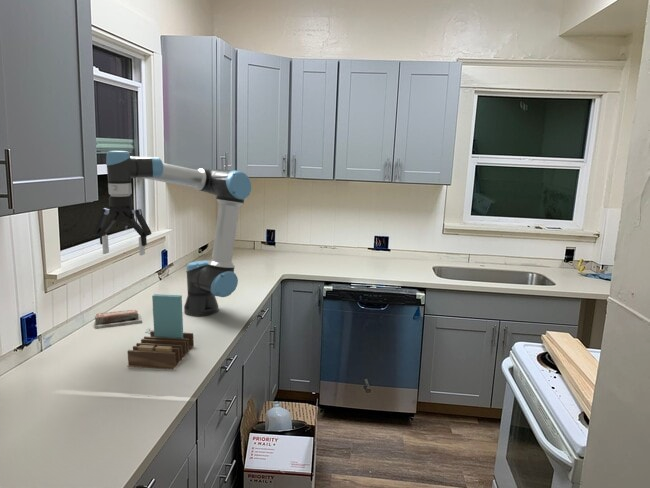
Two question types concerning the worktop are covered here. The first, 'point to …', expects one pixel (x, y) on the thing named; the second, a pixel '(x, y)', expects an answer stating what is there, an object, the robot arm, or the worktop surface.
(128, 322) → the packaged product
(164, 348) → the offcut
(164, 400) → the worktop surface
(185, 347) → the rack
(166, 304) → the tall board
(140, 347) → the offcut
